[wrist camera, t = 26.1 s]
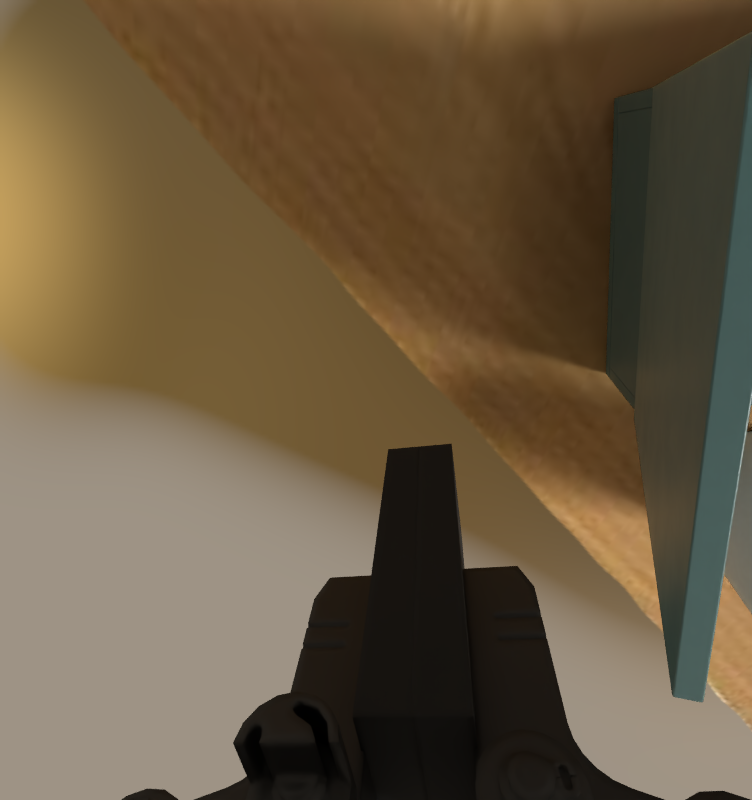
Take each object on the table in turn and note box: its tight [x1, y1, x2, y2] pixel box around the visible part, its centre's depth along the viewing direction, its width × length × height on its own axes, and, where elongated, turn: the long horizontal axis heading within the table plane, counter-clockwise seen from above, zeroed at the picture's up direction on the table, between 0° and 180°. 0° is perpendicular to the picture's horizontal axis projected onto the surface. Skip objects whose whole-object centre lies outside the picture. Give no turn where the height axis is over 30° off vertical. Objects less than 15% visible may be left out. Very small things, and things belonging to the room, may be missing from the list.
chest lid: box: [634, 31, 752, 702], centre depth 19 cm, size 17×17×1 cm
